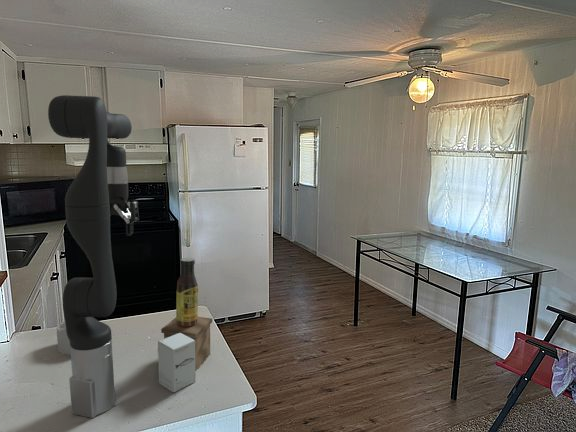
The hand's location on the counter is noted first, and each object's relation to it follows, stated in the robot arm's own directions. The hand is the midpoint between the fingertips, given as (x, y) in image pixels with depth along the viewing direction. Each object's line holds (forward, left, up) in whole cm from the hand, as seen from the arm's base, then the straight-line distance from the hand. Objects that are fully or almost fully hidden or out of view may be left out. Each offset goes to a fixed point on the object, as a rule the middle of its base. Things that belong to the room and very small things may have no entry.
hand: (117, 234), depth 126 cm
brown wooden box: (-2, -24, -37) cm, 44 cm away
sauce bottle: (-2, -24, -25) cm, 35 cm away
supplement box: (-13, -27, -37) cm, 48 cm away
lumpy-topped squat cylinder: (-4, +13, -38) cm, 40 cm away
